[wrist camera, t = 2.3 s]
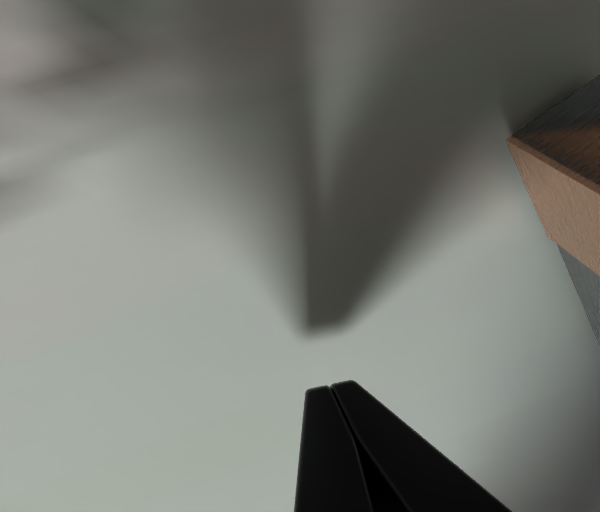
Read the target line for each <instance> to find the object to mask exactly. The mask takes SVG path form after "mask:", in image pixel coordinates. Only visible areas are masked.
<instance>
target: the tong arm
mask: <svg viewBox="0 0 600 512" xmlns="http://www.w3.org/2000/svg"><path fill="white" fill-rule="evenodd" d="M506 142H507V144H508V147H509V149H510V151H511V154H512V156H513V158H514V161H515V163H516V165H517V167H518V170H519V172H520V174H521V177H522V179H523V181H524V184H525V186H526V188H527V191H528V193H529V195H530V198H531V200H532V202H533V204H534V207H535V209H536V211H537V214H538V216H539V218H540V221H541V223H542V225H543V228H544V230H545V232H546V234H547V236H548V237H549V238H550V239H551V240H553V241H554V242H555V243H557V246H558V248H559V250H560V253H561V255H562V257H563V260H564V262H565V264H566V267H567V269H568V271H569V274H570V276H571V279H572V281H573V283H574V286H575V288H576V290H577V293H578V295H579V297H580V300H581V302H582V305H583V307H584V309H585V312H586V314H587V316H588V319H589V321H590V323H591V326H592V328H593V331H594V333H595V335H596V338H597V340H598V342H599V345H600V75H599V76H597V77H596V78H594V79H593V80H591V81H590V82H589V83H587V84H586V85H584V86H583V87H581V88H580V89H578V90H577V91H576V92H574V93H573V94H571V95H570V96H568V97H567V98H565V99H564V100H563V101H561V102H560V103H558V104H557V105H555V106H554V107H553V108H551V109H550V110H548V111H547V112H545V113H544V114H542V115H541V116H540V117H538V118H537V119H535V120H534V121H532V122H531V123H529V124H528V125H527V126H525V127H524V128H522V129H521V130H519V131H518V132H516V133H515V134H514V135H512V136H511V137H509V138H508V139H506Z"/></svg>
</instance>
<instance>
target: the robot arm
mask: <svg viewBox="0 0 600 512" xmlns="http://www.w3.org/2000/svg"><path fill="white" fill-rule="evenodd" d="M294 512H512V511H511V510H510V509H508V508H507V507H506V506H505V505H504V504H502V503H501V502H500V501H499V500H497V499H496V498H495V497H494V496H493V495H491V494H490V493H489V492H488V491H487V490H485V489H484V488H483V487H482V486H481V485H479V484H478V483H477V482H476V481H475V480H473V479H472V478H471V477H470V476H469V475H467V474H466V473H465V472H464V471H463V470H461V469H460V468H459V467H458V466H457V465H455V464H454V463H453V462H452V461H451V460H449V459H448V458H447V457H446V456H445V455H443V454H442V453H441V452H440V451H438V450H437V449H436V448H435V447H434V446H432V445H431V444H430V443H429V442H428V441H426V440H425V439H424V438H423V437H422V436H420V435H419V434H418V433H417V432H416V431H414V430H413V429H412V428H411V427H410V426H408V425H407V424H406V423H405V422H404V421H402V420H401V419H400V418H399V417H398V416H396V415H395V414H394V413H393V412H392V411H390V410H389V409H388V408H387V407H385V406H384V405H383V404H382V403H381V402H379V401H378V400H377V399H376V398H375V397H373V396H372V395H371V394H370V393H369V392H367V391H366V390H365V389H364V388H363V387H361V386H360V385H359V384H358V383H357V382H355V381H353V380H348V381H344V382H339V383H334V384H332V385H331V386H330V387H329V386H327V385H325V386H320V387H315V388H311V389H308V390H307V391H306V393H305V402H304V412H303V423H302V433H301V444H300V454H299V465H298V475H297V485H296V496H295V506H294Z"/></svg>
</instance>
